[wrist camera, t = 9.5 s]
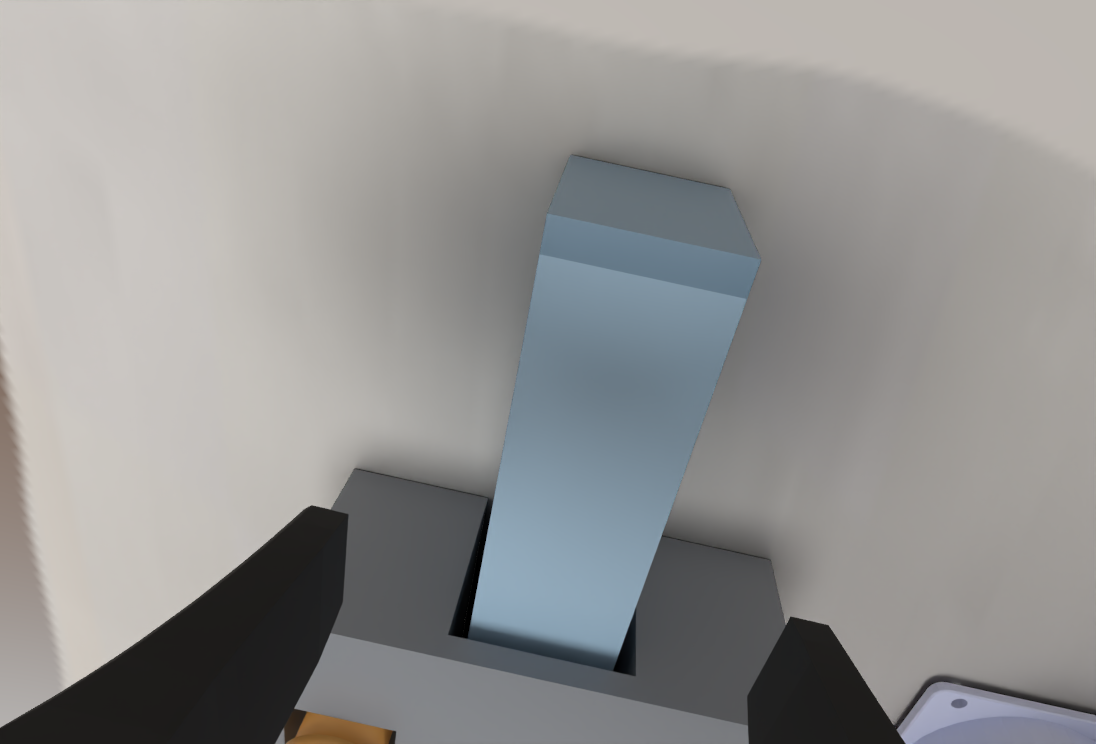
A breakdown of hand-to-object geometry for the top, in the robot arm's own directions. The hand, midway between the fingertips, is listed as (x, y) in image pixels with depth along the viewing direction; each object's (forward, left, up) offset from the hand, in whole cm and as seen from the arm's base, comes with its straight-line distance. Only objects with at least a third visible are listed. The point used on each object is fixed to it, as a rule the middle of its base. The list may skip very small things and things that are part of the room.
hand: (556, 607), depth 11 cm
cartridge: (0, +2, -10) cm, 10 cm away
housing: (0, +11, -10) cm, 15 cm away
